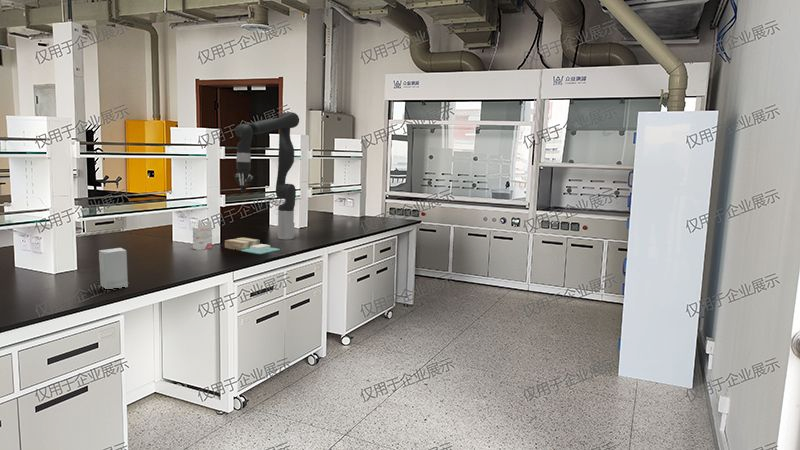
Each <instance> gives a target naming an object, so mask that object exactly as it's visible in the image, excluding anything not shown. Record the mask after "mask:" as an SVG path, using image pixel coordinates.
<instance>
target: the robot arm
mask: <svg viewBox="0 0 800 450" xmlns="http://www.w3.org/2000/svg"><path fill="white" fill-rule="evenodd" d="M299 123H300V117H299V115H298V114H296V112H293V111H289V112H288V111H287V112H285V111H284V112H281V113H280V114H279V117H276V118H269V119H267V118H266V119H261V120H257V121H253V122H249V123H242V124H238V125H237V126H235V128H234V133H235V135H236V136H237V137H238V138H240V141H238V142H237V145H236V147H237V149H236V170H237V171H236V174H233V178H234V180H235V182H236V183H237V184H238V185H239V186H240V192H241V193H246V192H247V186H249V185H250V183H251V182H252V180H253V179H254V176H253V175H252V174H251V160H252V159H251V157H252V156H251V144H252V142H253V141H252V140H253V137H254V135H261V134H264V133H265V134H266V133H268V132H272V131H275V130H278V135H279V137H278V138H279V139H278V140H279V141H278V158H277V159H278V160H277V162H278V163H277V164H278V165H277V166H278V167H277V174H276V175H277V177H276V184H275V196H276V197H277V198H278V199H283V200H285V202H284V203H282V204H279V205H278V206H277V208H278V209H277V213H278V214H277V239H279V240H292V239H294V238H295V222H294V219H295V218H294V217H295V216H294V215H295V213H294V212H295V205H296V195H297V193H296V192H297V191H296V186H295V185H294V184H292V183H286V179H287V175H288V173H289V172H290V170H291V168H292V167H293V165H294V162H295V149H294V145H293V142H292V140H291V129H294V128H296V127H297V126H299ZM237 156H238V157H237Z"/></svg>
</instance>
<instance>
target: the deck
mask: <svg viewBox="0 0 800 450" xmlns="http://www.w3.org/2000/svg"><path fill="white" fill-rule="evenodd" d="M258 244H261V240H260V239H257V238H250V237H244V236H243V237H237V238H233V239H226V240H224V248H225V249H229V250H235V249H236V250H235V251H241V250H244V249H249V248H250V246H253V245H258Z"/></svg>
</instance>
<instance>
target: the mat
mask: <svg viewBox="0 0 800 450" xmlns="http://www.w3.org/2000/svg"><path fill="white" fill-rule="evenodd" d="M240 251H241V252H245V253H249V254H256V255H263V254H268V253H273V252H276V251H281V248H276V247H271V246H270V249H267V250H263V251H254V250H250V248H249V249H244V250H240Z"/></svg>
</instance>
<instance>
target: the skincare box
mask: <svg viewBox="0 0 800 450" xmlns="http://www.w3.org/2000/svg"><path fill="white" fill-rule="evenodd" d="M127 254H128V253H127V250H126V249H124V248H122V247H115V248H108V249H100V250H98V261H99V276H100V277H99V278H100V279H99V280H100V282H99V283H100V287H101V286H102V287H104V288H105V289H113V288H119V289H123V288H122V287H125V288H128V287H129V283H128V282H129V281H128V280H129V279H128V256H127ZM113 290H114V289H113Z"/></svg>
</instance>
